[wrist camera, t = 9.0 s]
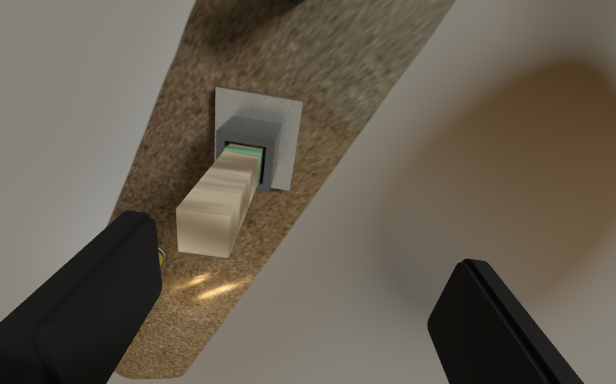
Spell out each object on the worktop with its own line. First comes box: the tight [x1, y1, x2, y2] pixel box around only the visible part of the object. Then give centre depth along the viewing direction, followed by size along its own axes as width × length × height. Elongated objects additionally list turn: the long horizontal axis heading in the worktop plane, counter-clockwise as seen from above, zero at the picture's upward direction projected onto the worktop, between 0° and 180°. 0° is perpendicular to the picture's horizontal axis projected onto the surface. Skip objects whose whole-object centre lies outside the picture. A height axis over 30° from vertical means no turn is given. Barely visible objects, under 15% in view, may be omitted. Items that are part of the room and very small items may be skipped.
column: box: [176, 143, 263, 258], centre depth 29 cm, size 4×4×16 cm
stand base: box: [215, 85, 303, 192], centre depth 40 cm, size 14×12×10 cm
